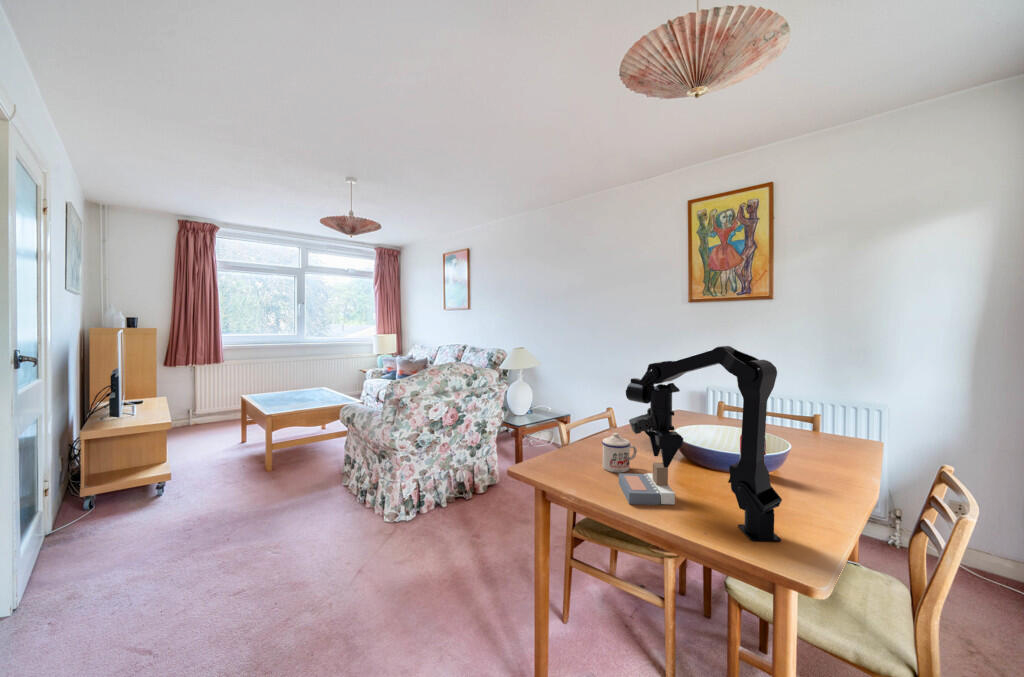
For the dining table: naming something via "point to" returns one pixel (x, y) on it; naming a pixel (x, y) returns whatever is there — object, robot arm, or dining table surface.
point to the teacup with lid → (617, 453)
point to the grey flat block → (639, 489)
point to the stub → (662, 483)
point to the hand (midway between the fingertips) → (660, 461)
